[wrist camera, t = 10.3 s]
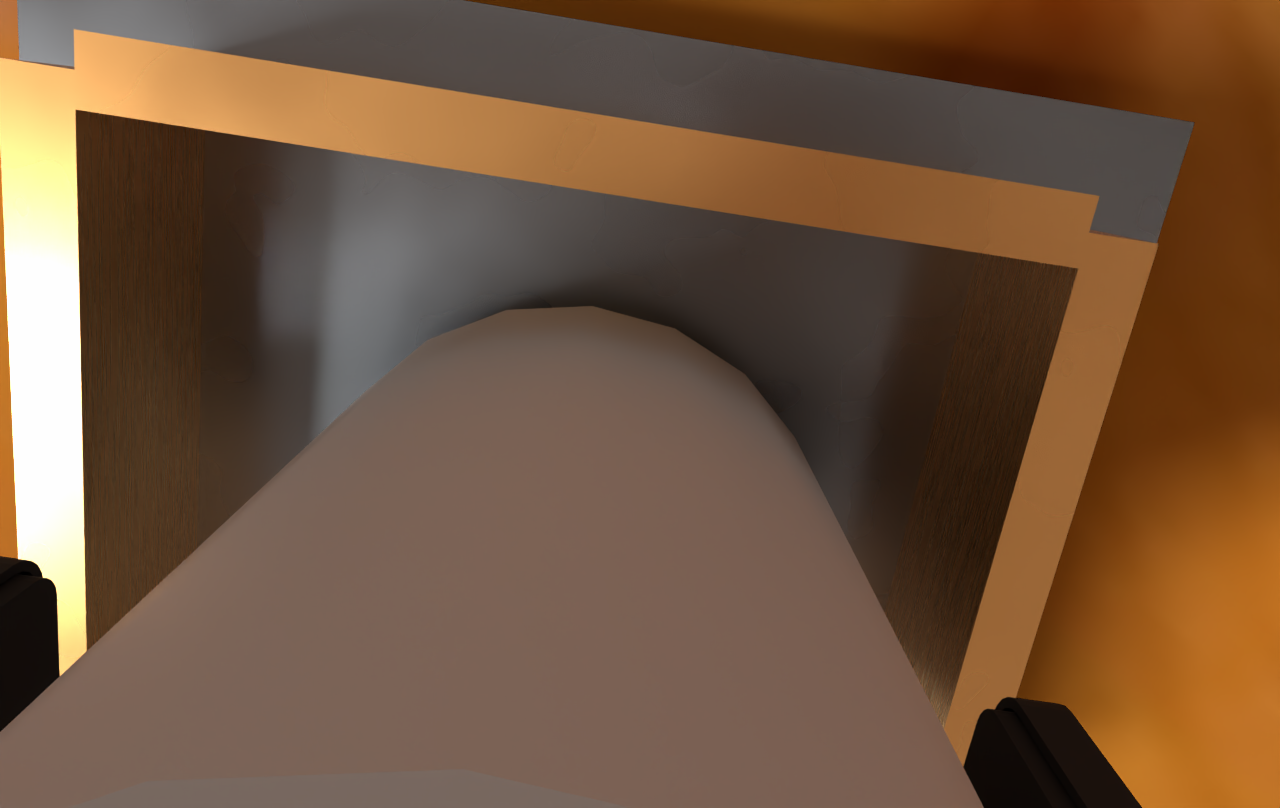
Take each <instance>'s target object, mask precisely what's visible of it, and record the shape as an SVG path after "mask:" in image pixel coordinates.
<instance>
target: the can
mask: <svg viewBox="0 0 1280 808" xmlns="http://www.w3.org/2000/svg"><path fill="white" fill-rule="evenodd" d="M0 808H984V807H983V805H982V803H981V801H980V799H979V797H978V795H977V793H976V791H975V789H974V787H973V785H972V783H971V782H970V780H969V778H968V776H967V774H966V772H965V770H964V768H963V766H962V764H961V762H960V760H959V758H958V756H957V754H956V752H955V750H954V748H953V746H952V744H951V742H950V740H949V738H948V736H947V734H946V733H945V731H944V729H943V727H942V725H941V723H940V721H939V719H938V717H937V715H936V713H935V711H934V709H933V707H932V705H931V703H930V701H929V699H928V697H927V695H926V693H925V691H924V689H923V687H922V685H921V684H920V682H919V680H918V678H917V676H916V674H915V672H914V670H913V668H912V666H911V664H910V662H909V660H908V658H907V656H906V654H905V652H904V650H903V648H902V646H901V644H900V642H899V640H898V638H897V636H896V635H895V633H894V631H893V629H892V627H891V625H890V623H889V621H888V619H887V617H886V615H885V613H884V611H883V609H882V607H881V605H880V603H879V601H878V599H877V597H876V595H875V593H874V591H873V589H872V587H871V586H870V584H869V582H868V580H867V578H866V576H865V574H864V572H863V570H862V568H861V566H860V564H859V562H858V560H857V558H856V556H855V554H854V552H853V550H852V548H851V546H850V544H849V542H848V540H847V538H846V537H845V535H844V533H843V531H842V529H841V527H840V525H839V523H838V521H837V519H836V517H835V515H834V513H833V511H832V509H831V507H830V505H829V503H828V501H827V499H826V497H825V495H824V493H823V491H822V489H821V488H820V486H819V484H818V482H817V480H816V478H815V476H814V474H813V472H812V470H811V468H810V466H809V464H808V462H807V460H806V458H805V456H804V454H803V452H802V450H801V448H800V446H799V444H798V442H797V440H796V439H795V437H794V435H793V434H792V433H791V432H790V430H789V429H788V428H787V426H786V425H785V424H784V423H783V421H782V420H781V419H780V418H779V416H778V415H777V414H776V413H775V411H774V410H773V409H772V407H771V406H770V405H769V404H768V402H767V401H766V400H765V399H764V397H763V396H762V395H761V394H760V392H759V391H758V390H757V389H756V387H755V386H754V385H753V383H752V382H751V381H750V380H749V378H748V377H747V376H746V375H745V374H744V373H743V372H741V371H740V370H738V369H736V368H735V367H733V366H732V365H730V364H729V363H727V362H726V361H724V360H723V359H721V358H720V357H718V356H717V355H715V354H713V353H712V352H710V351H709V350H707V349H706V348H704V347H703V346H701V345H700V344H698V343H697V342H695V341H694V340H692V339H691V338H689V337H687V336H686V335H684V334H683V333H681V332H680V331H678V330H677V329H675V328H671V327H668V326H664V325H660V324H657V323H653V322H649V321H646V320H642V319H638V318H635V317H631V316H627V315H624V314H620V313H616V312H613V311H609V310H605V309H602V308H598V307H594V306H583V307H560V308H538V309H515V310H505V311H502V312H500V313H497V314H494V315H492V316H489V317H486V318H484V319H481V320H478V321H476V322H473V323H470V324H468V325H465V326H462V327H460V328H457V329H454V330H452V331H449V332H447V333H444V334H441V335H439V336H436V337H433V338H431V339H428V340H427V341H426V342H424V343H423V344H422V345H421V346H419V347H418V348H417V349H416V350H415V351H413V352H412V353H411V354H410V355H409V356H407V357H406V358H405V359H404V360H403V361H401V362H400V363H399V364H398V365H396V366H395V367H394V368H393V369H392V370H390V371H389V372H388V373H387V374H386V375H384V376H383V377H382V378H381V379H379V380H378V381H377V382H376V383H375V384H373V385H372V386H371V387H370V388H369V389H367V390H366V391H365V392H364V393H363V394H362V395H361V396H360V397H359V398H358V399H356V400H355V401H354V402H353V403H352V404H351V405H350V406H349V407H348V408H347V409H346V410H345V411H344V412H343V413H341V414H340V415H339V416H338V417H337V418H336V419H335V420H334V421H333V422H332V423H331V424H330V425H329V426H328V427H326V428H325V429H324V430H323V431H322V432H321V433H320V434H319V435H318V436H317V437H316V438H315V439H314V440H313V441H311V442H310V443H309V444H308V445H307V446H306V447H305V448H304V449H303V450H302V451H301V452H300V453H299V454H298V455H296V456H295V457H294V458H293V459H292V460H291V461H290V462H289V463H288V464H287V465H286V466H285V467H284V468H283V469H281V470H280V471H279V472H278V473H277V474H276V475H275V476H274V477H273V478H272V479H271V480H270V481H269V482H268V483H266V484H265V485H264V486H263V487H262V488H261V489H260V490H259V491H258V492H257V493H256V494H255V495H254V496H253V497H251V498H250V499H249V500H248V501H247V502H246V503H245V504H244V505H243V506H242V507H241V508H240V509H239V510H238V511H236V512H235V513H234V514H233V515H232V516H231V517H230V518H229V519H228V520H227V521H226V522H225V523H224V524H223V525H221V526H220V527H219V528H218V529H217V530H216V531H215V532H214V533H213V534H212V535H211V536H210V537H209V538H208V539H206V540H205V541H204V542H203V543H202V544H201V545H200V546H199V547H198V548H197V549H196V550H195V551H194V552H193V553H191V554H190V555H189V556H188V557H187V558H186V559H185V560H184V561H183V562H182V563H181V564H180V565H179V566H178V567H176V568H175V569H174V570H173V571H172V572H171V573H170V574H169V575H168V576H167V577H166V578H165V579H164V580H163V581H161V582H160V583H159V584H158V585H157V586H156V587H155V588H154V589H153V590H152V591H151V592H150V593H149V594H148V595H146V596H145V597H144V598H143V599H142V600H141V601H140V602H139V603H138V604H137V605H136V606H135V607H134V608H133V609H131V610H130V611H129V612H128V613H127V614H126V615H125V616H124V617H123V618H122V619H121V620H120V621H119V622H118V623H116V624H115V625H114V626H113V627H112V628H111V629H110V630H109V631H108V632H107V633H106V634H105V635H104V636H103V637H101V638H100V639H99V640H98V641H97V642H96V643H95V644H94V645H93V646H92V647H91V648H90V649H89V650H88V651H86V652H85V653H84V654H83V655H82V656H81V657H80V658H79V659H78V660H77V661H76V662H75V663H74V664H73V665H71V666H70V667H69V668H68V669H67V670H66V671H65V672H64V673H63V674H62V675H61V676H60V677H59V678H58V679H56V680H55V681H54V682H53V683H52V684H51V685H50V686H49V687H48V688H47V689H46V690H45V691H44V692H43V693H41V694H40V695H39V696H38V697H37V698H36V699H35V700H34V701H33V702H32V703H31V704H30V705H29V706H28V707H26V708H25V709H24V710H23V711H22V712H21V713H20V714H19V715H18V716H17V717H16V718H15V719H14V720H13V721H11V722H10V723H9V724H8V725H7V726H6V727H5V728H4V729H3V730H2V731H1V732H0Z"/></svg>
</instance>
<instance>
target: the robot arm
mask: <svg viewBox="0 0 1280 808" xmlns="http://www.w3.org/2000/svg"><path fill="white" fill-rule="evenodd" d="M59 677H60V671H59V639H58V608H57V591H56V586H55V584H54V583H53V581H52V580H50V579H49V578H43V575H42V572H41V570H40V568H39V566H38V565H37V564H36V563H34V562H33V561H30V560H23V559H16V558H9V557H2V556H0V732H1V731H2V730H3V729H4V728H5V727H6V726H7V725H8V724H9V723H10V722H11V721H13V720H14V719H15V718H16V717H17V716H18V715H19V714H20V713H21V712H22V711H23V710H24V709H25V708H26V707H28V706H29V705H30V704H31V703H32V702H33V701H34V700H35V699H36V698H37V697H38V696H39V695H40V694H41V693H43V692H44V691H45V690H46V689H47V688H48V687H49V686H50V685H51V684H52V683H53V682H54V681H55V680H56V679H58V678H59ZM963 768H964V770H965V772H966V774H967V776H968V778H969V780H970V782H971V783H972V785H973V787H974V789H975V791H976V793H977V795H978V797H979V799H980V801H981V803H982V805H983V807H984V808H1142V807H1141V805H1140V804H1139V803H1138V801H1137V800H1136V799H1135V797H1134V796H1133V795H1132V793H1131V792H1130V791H1129V789H1128V788H1127V787H1126V785H1125V784H1124V782H1123V781H1122V780H1121V778H1120V777H1119V776H1118V774H1117V773H1116V772H1115V770H1114V769H1113V768H1112V766H1111V765H1110V764H1109V762H1108V761H1107V760H1106V758H1105V757H1104V755H1103V754H1102V753H1101V751H1100V750H1099V749H1098V747H1097V746H1096V745H1095V743H1094V742H1093V741H1092V739H1091V738H1090V737H1089V735H1088V734H1087V732H1086V731H1085V730H1084V728H1083V727H1082V726H1081V724H1080V723H1079V722H1078V720H1077V719H1076V718H1075V716H1074V715H1073V714H1072V712H1071V711H1070V710H1069V709H1068V708H1067V707H1066V706H1064V705H1061V704H1057V703H1049V702H1042V701H1035V700H1028V699H1021V698H1013V697H1006V698H1003V699H1002V700H1001V701H1000V702H999V703H998V704H997V706H996V708H995V709H985V710H983V712H982V713H981V714H980V716H979V718H978V720H977V723H976V726H975V730H974V733H973V736H972V740H971V743H970V746H969V749H968V753H967V756H966V759H965V763H964V766H963Z"/></svg>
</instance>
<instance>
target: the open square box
mask: <svg viewBox="0 0 1280 808" xmlns="http://www.w3.org/2000/svg"><path fill="white" fill-rule="evenodd" d="M17 6H18V34H19V60H15V59H7V58H0V145H1V168H2V191H3V214H4V237H5V260H6V283H7V306H8V329H9V352H10V375H11V399H12V422H13V445H14V468H15V491H16V514H17V537H18V559H23V560H30V561H33V562H34V563H36V564H37V565H38V566H39V568H40V570H41V572H42V575H43V578H49V579H50V580H52V581H53V583H54V584H55V586H56V591H57V608H58V639H59V671H60V676H61V675H62V674H63V673H64V672H65V671H66V670H67V669H68V668H69V667H70V666H71V665H73V664H74V663H75V662H76V661H77V660H78V659H79V658H80V657H81V656H82V655H83V654H84V653H85V652H86V651H88V650H89V649H90V648H91V647H92V646H93V645H94V644H95V643H96V642H97V641H98V640H99V639H100V638H101V637H103V636H104V635H105V634H106V633H107V632H108V631H109V630H110V629H111V628H112V627H113V626H114V625H115V624H116V623H118V622H119V621H120V620H121V619H122V618H123V617H124V616H125V615H126V614H127V613H128V612H129V611H130V610H131V609H133V608H134V607H135V606H136V605H137V604H138V603H139V602H140V601H141V600H142V599H143V598H144V597H145V596H146V595H148V594H149V593H150V592H151V591H152V590H153V589H154V588H155V587H156V586H157V585H158V584H159V583H160V582H161V581H163V580H164V579H165V578H166V577H167V576H168V575H169V574H170V573H171V572H172V571H173V570H174V569H175V568H176V567H178V566H179V565H180V564H181V563H182V562H183V561H184V560H185V559H186V558H187V557H188V556H189V555H190V554H191V553H193V552H194V551H195V550H196V549H197V548H198V547H199V546H200V545H201V544H202V543H203V542H204V541H205V540H206V539H208V538H209V537H210V536H211V535H212V534H213V533H214V532H215V531H216V530H217V529H218V528H219V527H220V526H221V525H223V524H224V523H225V522H226V521H227V520H228V519H229V518H230V517H231V516H232V515H233V514H234V513H235V512H236V511H238V510H239V509H240V508H241V507H242V506H243V505H244V504H245V503H246V502H247V501H248V500H249V499H250V498H251V497H253V496H254V495H255V494H256V493H257V492H258V491H259V490H260V489H261V488H262V487H263V486H264V485H265V484H266V483H268V482H269V481H270V480H271V479H272V478H273V477H274V476H275V475H276V474H277V473H278V472H279V471H280V470H281V469H283V468H284V467H285V466H286V465H287V464H288V463H289V462H290V461H291V460H292V459H293V458H294V457H295V456H296V455H298V454H299V453H300V452H301V451H302V450H303V449H304V448H305V447H306V446H307V445H308V444H309V443H310V442H311V441H313V440H314V439H315V438H316V437H317V436H318V435H319V434H320V433H321V432H322V431H323V430H324V429H325V428H326V427H328V426H329V425H330V424H331V423H332V422H333V421H334V420H335V419H336V418H337V417H338V416H339V415H340V414H341V413H343V412H344V411H345V410H346V409H347V408H348V407H349V406H350V405H351V404H352V403H353V402H354V401H355V400H356V399H358V398H359V397H360V396H361V395H362V394H363V393H364V392H365V391H366V390H367V389H369V388H370V387H371V386H372V385H373V384H375V383H376V382H377V381H378V380H379V379H381V378H382V377H383V376H384V375H386V374H387V373H388V372H389V371H390V370H392V369H393V368H394V367H395V366H396V365H398V364H399V363H400V362H401V361H403V360H404V359H405V358H406V357H407V356H409V355H410V354H411V353H412V352H413V351H415V350H416V349H417V348H418V347H419V346H421V345H422V344H423V343H424V342H426V341H427V340H428V339H431V338H433V337H436V336H439V335H441V334H444V333H447V332H449V331H452V330H454V329H457V328H460V327H462V326H465V325H468V324H470V323H473V322H476V321H478V320H481V319H484V318H486V317H489V316H492V315H494V314H497V313H500V312H502V311H505V310H515V309H538V308H560V307H583V306H594V307H598V308H602V309H605V310H609V311H613V312H616V313H620V314H624V315H627V316H631V317H635V318H638V319H642V320H646V321H649V322H653V323H657V324H660V325H664V326H668V327H671V328H675V329H677V330H678V331H680V332H681V333H683V334H684V335H686V336H687V337H689V338H691V339H692V340H694V341H695V342H697V343H698V344H700V345H701V346H703V347H704V348H706V349H707V350H709V351H710V352H712V353H713V354H715V355H717V356H718V357H720V358H721V359H723V360H724V361H726V362H727V363H729V364H730V365H732V366H733V367H735V368H736V369H738V370H740V371H741V372H743V373H744V374H745V375H746V376H747V377H748V378H749V380H750V381H751V382H752V383H753V385H754V386H755V387H756V389H757V390H758V391H759V392H760V394H761V395H762V396H763V397H764V399H765V400H766V401H767V402H768V404H769V405H770V406H771V407H772V409H773V410H774V411H775V413H776V414H777V415H778V416H779V418H780V419H781V420H782V421H783V423H784V424H785V425H786V426H787V428H788V429H789V430H790V432H791V433H792V434H793V435H794V437H795V439H796V440H797V442H798V444H799V446H800V448H801V450H802V452H803V454H804V456H805V458H806V460H807V462H808V464H809V466H810V468H811V470H812V472H813V474H814V476H815V478H816V480H817V482H818V484H819V486H820V488H821V489H822V491H823V493H824V495H825V497H826V499H827V501H828V503H829V505H830V507H831V509H832V511H833V513H834V515H835V517H836V519H837V521H838V523H839V525H840V527H841V529H842V531H843V533H844V535H845V537H846V538H847V540H848V542H849V544H850V546H851V548H852V550H853V552H854V554H855V556H856V558H857V560H858V562H859V564H860V566H861V568H862V570H863V572H864V574H865V576H866V578H867V580H868V582H869V584H870V586H871V587H872V589H873V591H874V593H875V595H876V597H877V599H878V601H879V603H880V605H881V607H882V609H883V611H884V613H885V615H886V617H887V619H888V621H889V623H890V625H891V627H892V629H893V631H894V633H895V635H896V636H897V638H898V640H899V642H900V644H901V646H902V648H903V650H904V652H905V654H906V656H907V658H908V660H909V662H910V664H911V666H912V668H913V670H914V672H915V674H916V676H917V678H918V680H919V682H920V684H921V685H922V687H923V689H924V691H925V693H926V695H927V697H928V699H929V701H930V703H931V705H932V707H933V709H934V711H935V713H936V715H937V717H938V719H939V721H940V723H941V725H942V727H943V729H944V731H945V733H946V734H947V736H948V738H949V740H950V742H951V744H952V746H953V748H954V750H955V752H956V754H957V756H958V758H959V760H960V762H961V764H962V766H964V763H965V759H966V756H967V753H968V749H969V746H970V743H971V740H972V736H973V733H974V730H975V726H976V723H977V720H978V718H979V716H980V714H981V713H982V712H983V710H985V709H995V708H996V706H997V704H998V703H999V702H1000V701H1001V700H1002V699H1003V698H1006V697H1013V698H1016V696H1017V693H1018V690H1019V686H1020V683H1021V680H1022V677H1023V674H1024V671H1025V667H1026V664H1027V661H1028V658H1029V655H1030V652H1031V648H1032V645H1033V642H1034V639H1035V636H1036V632H1037V629H1038V626H1039V623H1040V620H1041V617H1042V613H1043V610H1044V607H1045V604H1046V601H1047V598H1048V594H1049V591H1050V588H1051V585H1052V582H1053V579H1054V575H1055V572H1056V569H1057V566H1058V563H1059V559H1060V556H1061V553H1062V550H1063V547H1064V544H1065V540H1066V537H1067V534H1068V531H1069V528H1070V525H1071V521H1072V518H1073V515H1074V512H1075V509H1076V505H1077V502H1078V499H1079V496H1080V493H1081V490H1082V486H1083V483H1084V480H1085V477H1086V474H1087V471H1088V467H1089V464H1090V461H1091V458H1092V455H1093V451H1094V448H1095V445H1096V442H1097V439H1098V436H1099V432H1100V429H1101V426H1102V423H1103V420H1104V417H1105V413H1106V410H1107V407H1108V404H1109V401H1110V397H1111V394H1112V391H1113V388H1114V385H1115V382H1116V378H1117V375H1118V372H1119V369H1120V366H1121V363H1122V359H1123V356H1124V353H1125V350H1126V347H1127V343H1128V340H1129V337H1130V334H1131V331H1132V328H1133V324H1134V321H1135V318H1136V315H1137V312H1138V309H1139V305H1140V302H1141V299H1142V296H1143V293H1144V289H1145V286H1146V283H1147V280H1148V277H1149V274H1150V270H1151V267H1152V264H1153V261H1154V258H1155V255H1156V251H1157V248H1158V245H1159V244H1157V241H1158V237H1159V234H1160V231H1161V228H1162V225H1163V221H1164V218H1165V215H1166V212H1167V209H1168V206H1169V202H1170V199H1171V196H1172V193H1173V190H1174V186H1175V183H1176V180H1177V177H1178V174H1179V171H1180V167H1181V164H1182V161H1183V158H1184V155H1185V151H1186V148H1187V145H1188V142H1189V139H1190V136H1191V132H1192V129H1193V126H1194V123H1195V122H1189V121H1183V120H1177V119H1171V118H1165V117H1159V116H1153V115H1147V114H1141V113H1135V112H1129V111H1123V110H1117V109H1111V108H1105V107H1099V106H1093V105H1087V104H1081V103H1075V102H1069V101H1063V100H1057V99H1051V98H1045V97H1039V96H1033V95H1027V94H1021V93H1015V92H1009V91H1003V90H997V89H991V88H985V87H979V86H973V85H967V84H961V83H955V82H949V81H943V80H937V79H931V78H926V77H920V76H914V75H908V74H902V73H896V72H890V71H884V70H878V69H872V68H866V67H860V66H854V65H848V64H842V63H836V62H830V61H824V60H818V59H812V58H806V57H800V56H794V55H788V54H782V53H776V52H770V51H764V50H758V49H752V48H746V47H740V46H734V45H728V44H722V43H716V42H710V41H704V40H698V39H692V38H686V37H680V36H674V35H668V34H662V33H656V32H650V31H644V30H638V29H632V28H626V27H620V26H614V25H608V24H602V23H596V22H590V21H584V20H578V19H572V18H566V17H560V16H554V15H548V14H542V13H536V12H530V11H524V10H518V9H512V8H506V7H500V6H494V5H488V4H482V3H476V2H470V1H465V0H17Z"/></svg>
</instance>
